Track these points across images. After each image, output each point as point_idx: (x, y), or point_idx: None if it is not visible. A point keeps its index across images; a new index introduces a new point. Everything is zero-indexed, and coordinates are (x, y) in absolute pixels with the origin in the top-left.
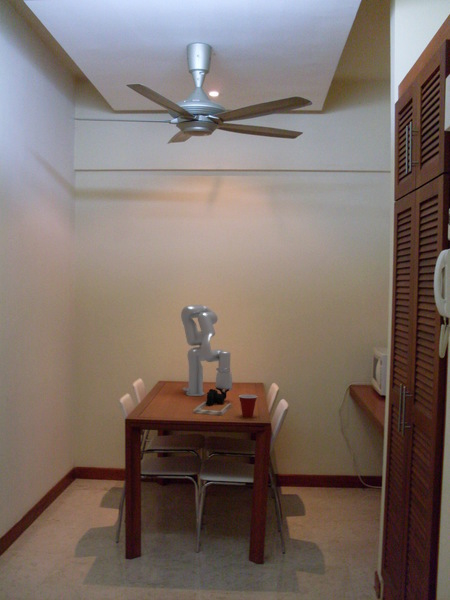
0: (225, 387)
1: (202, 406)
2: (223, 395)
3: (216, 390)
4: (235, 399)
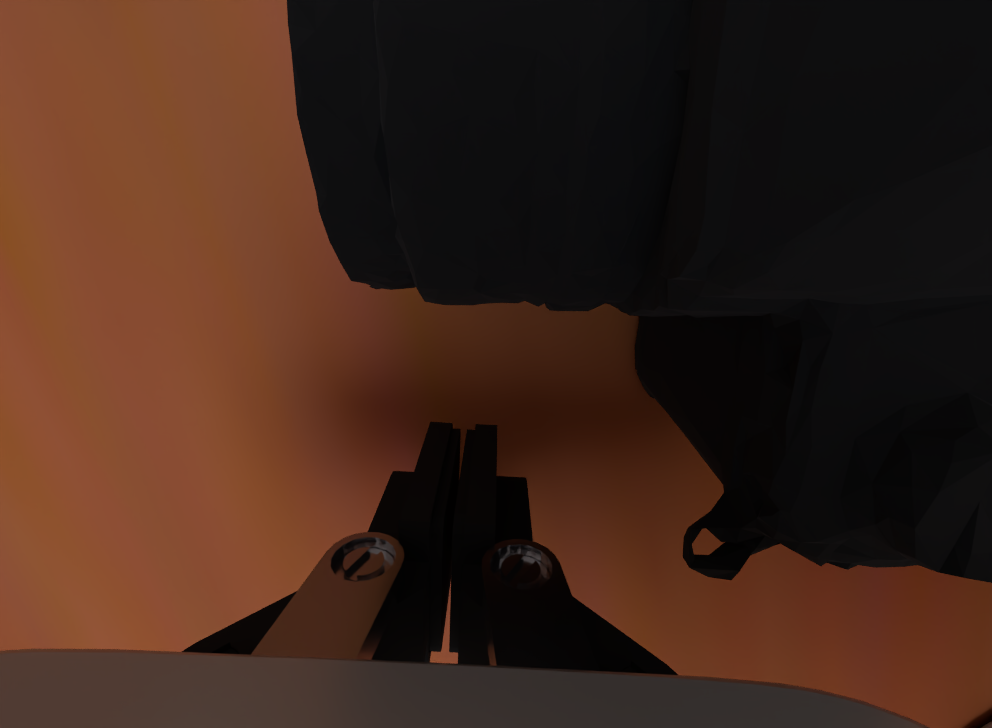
0: (146, 726)
1: None
2: (355, 208)
3: (838, 182)
4: None
